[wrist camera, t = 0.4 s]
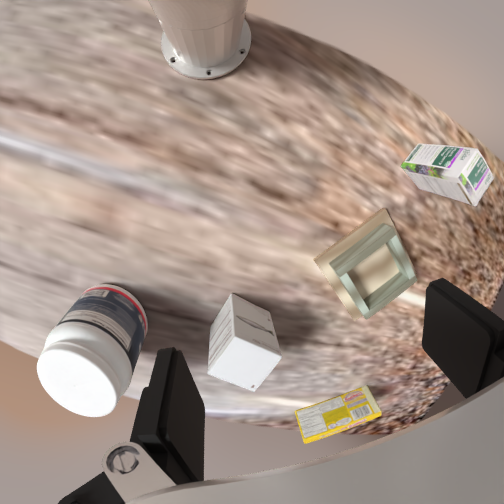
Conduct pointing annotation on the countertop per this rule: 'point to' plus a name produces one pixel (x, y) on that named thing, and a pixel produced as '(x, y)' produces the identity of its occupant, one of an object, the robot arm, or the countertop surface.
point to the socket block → (368, 266)
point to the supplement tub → (94, 351)
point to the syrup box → (449, 171)
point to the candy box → (337, 414)
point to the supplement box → (242, 344)
